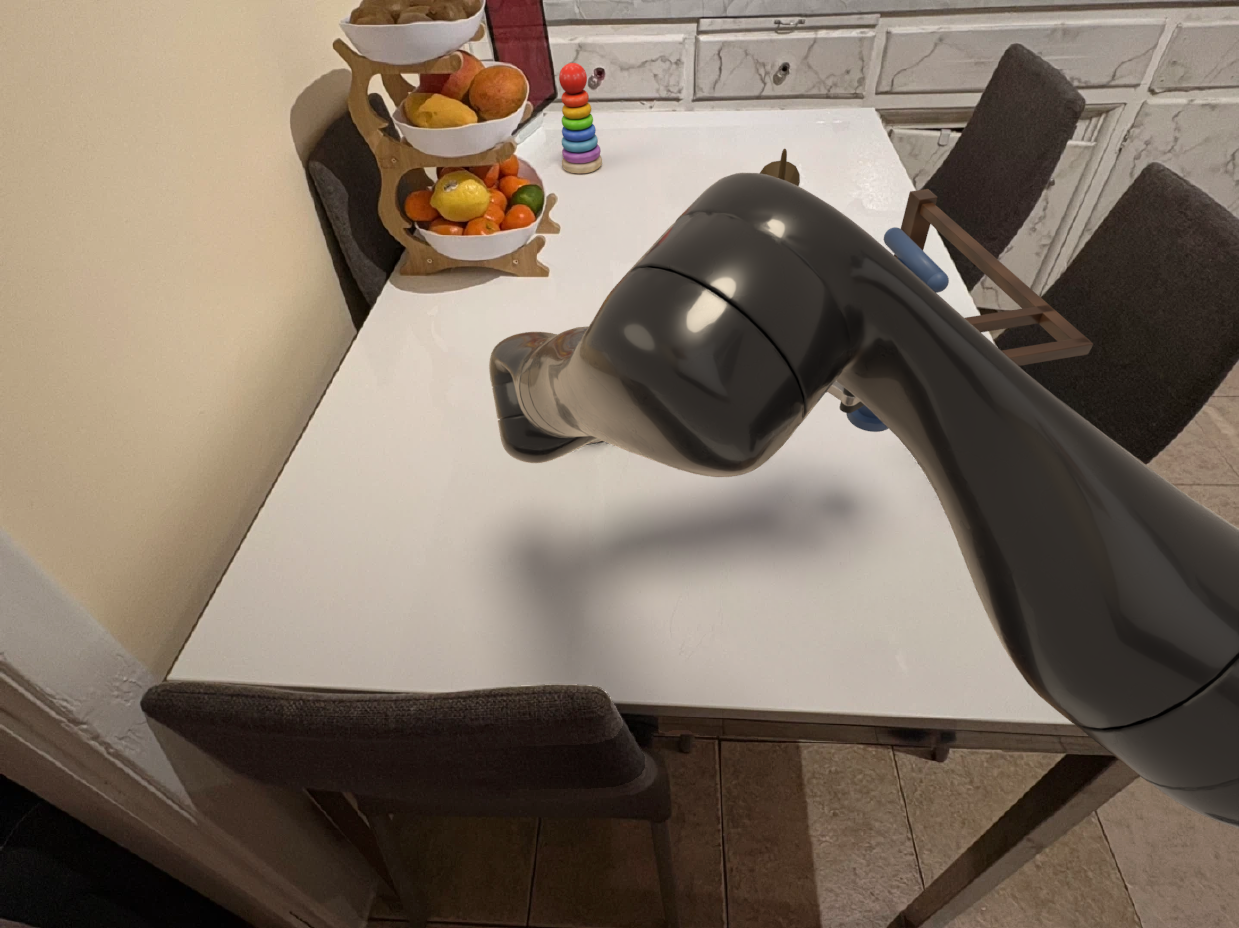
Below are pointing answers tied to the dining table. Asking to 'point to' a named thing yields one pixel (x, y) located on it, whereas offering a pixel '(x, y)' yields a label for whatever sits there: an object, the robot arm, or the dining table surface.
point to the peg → (928, 274)
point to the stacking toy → (577, 123)
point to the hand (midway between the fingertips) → (921, 337)
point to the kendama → (782, 170)
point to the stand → (1033, 307)
